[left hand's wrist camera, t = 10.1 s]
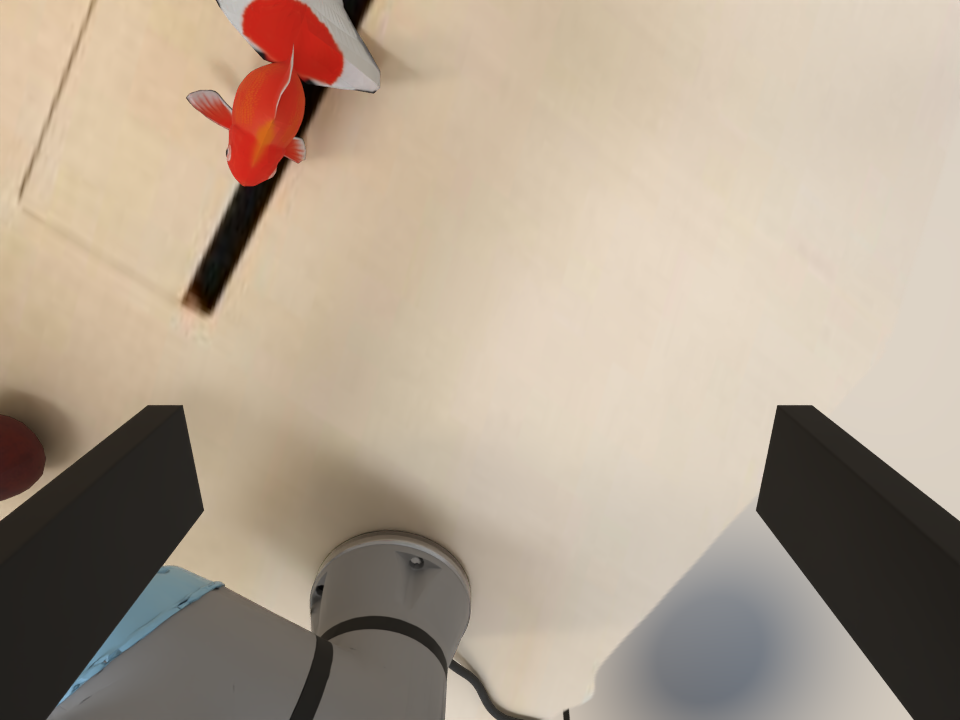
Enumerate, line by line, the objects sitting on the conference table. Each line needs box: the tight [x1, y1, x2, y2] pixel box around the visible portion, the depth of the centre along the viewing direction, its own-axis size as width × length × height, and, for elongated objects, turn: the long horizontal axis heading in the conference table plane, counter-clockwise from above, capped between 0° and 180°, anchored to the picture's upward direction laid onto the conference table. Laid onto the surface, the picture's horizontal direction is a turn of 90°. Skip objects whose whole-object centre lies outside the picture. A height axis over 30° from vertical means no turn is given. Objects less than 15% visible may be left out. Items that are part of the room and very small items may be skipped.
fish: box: [186, 0, 380, 186], centre depth 36 cm, size 11×16×10 cm
